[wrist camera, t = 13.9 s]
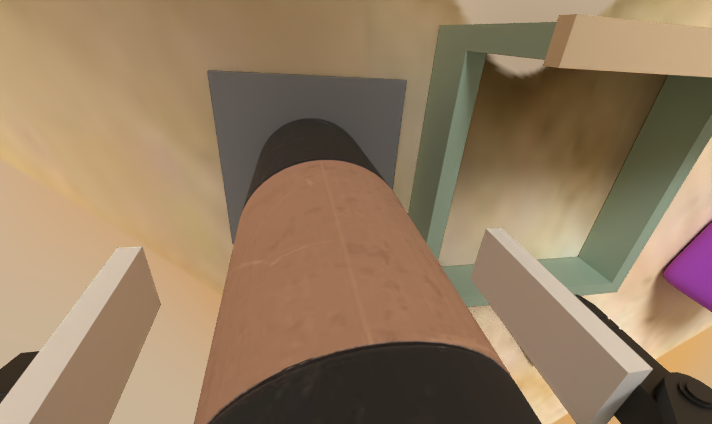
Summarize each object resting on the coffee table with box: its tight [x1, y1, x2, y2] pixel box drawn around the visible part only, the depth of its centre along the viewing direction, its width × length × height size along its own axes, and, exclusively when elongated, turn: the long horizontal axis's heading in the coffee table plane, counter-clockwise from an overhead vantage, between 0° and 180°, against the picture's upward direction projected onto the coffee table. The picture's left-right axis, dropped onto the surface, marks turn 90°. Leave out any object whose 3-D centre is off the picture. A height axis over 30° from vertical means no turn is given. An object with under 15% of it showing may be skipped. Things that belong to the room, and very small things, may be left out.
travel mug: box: [194, 118, 542, 424], centre depth 14 cm, size 8×8×20 cm
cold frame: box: [408, 14, 712, 307], centre depth 22 cm, size 21×20×11 cm
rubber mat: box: [207, 70, 407, 244], centre depth 22 cm, size 12×12×1 cm
